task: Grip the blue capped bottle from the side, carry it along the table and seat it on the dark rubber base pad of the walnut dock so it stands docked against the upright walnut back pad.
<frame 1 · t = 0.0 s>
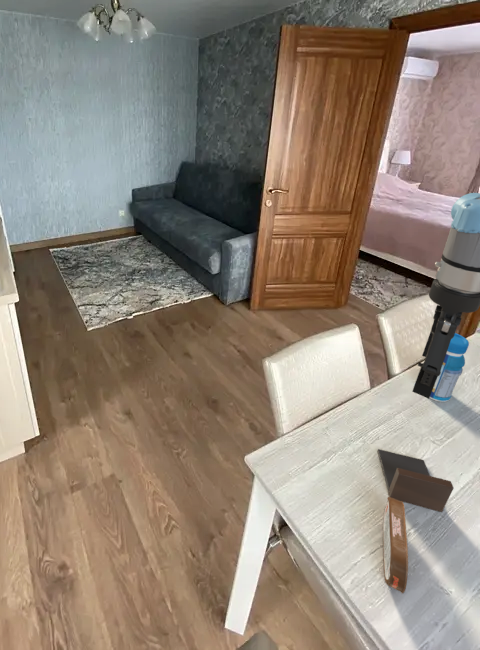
hand: (425, 374, 71), 29 cm above the table, tool pointing down, fingers open, 13 cm apart
blue capped bottle: (433, 392, 104), on the table
dock: (405, 476, 80), on the table
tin: (388, 553, 67), on the table
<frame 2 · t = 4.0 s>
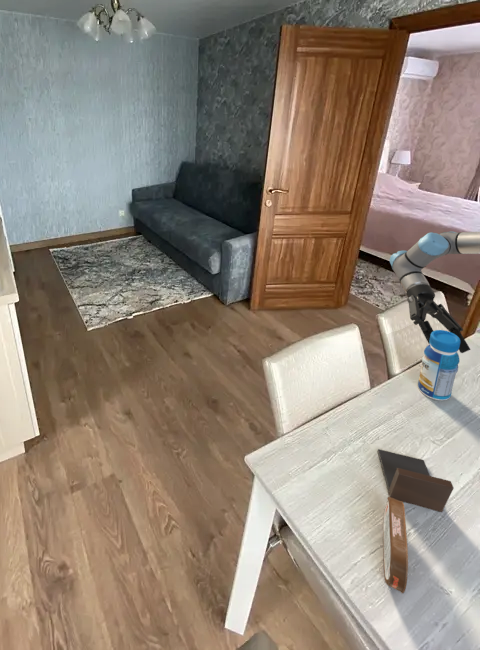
hand: (449, 346, 104), 13 cm above the table, tool tilted 65°, fingers open, 13 cm apart
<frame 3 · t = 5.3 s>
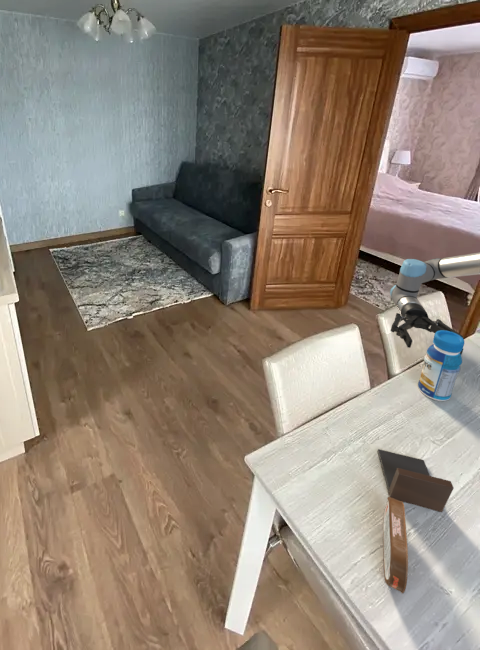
hand: (435, 348, 106), 11 cm above the table, tool horizontal, fingers open, 13 cm apart
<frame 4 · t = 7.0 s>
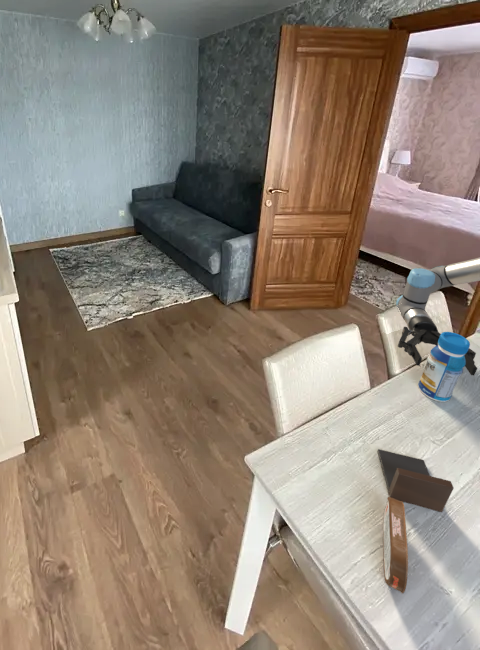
hand: (446, 366, 99), 11 cm above the table, tool horizontal, fingers open, 13 cm apart
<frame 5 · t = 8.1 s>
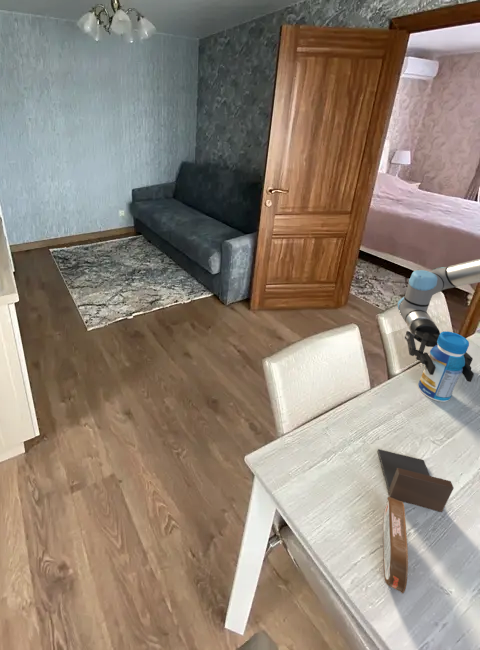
hand: (451, 374, 96), 11 cm above the table, tool horizontal, fingers closed on blue capped bottle, 8 cm apart
blue capped bottle: (433, 392, 104), on the table, touching gripper
everything else where it was.
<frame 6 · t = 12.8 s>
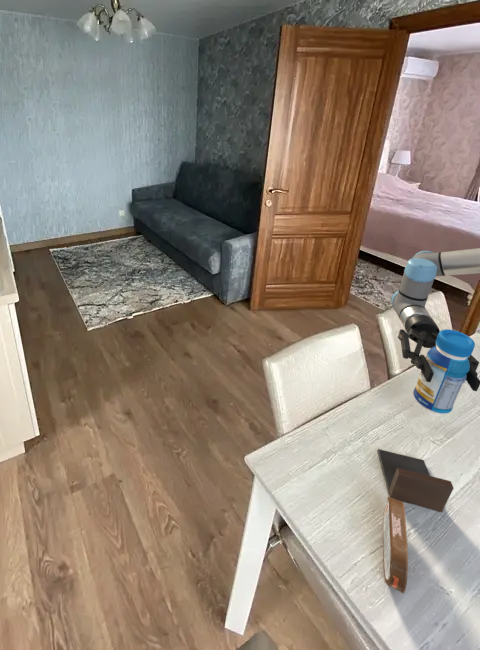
hand: (453, 381, 78), 22 cm above the table, tool horizontal, fingers closed on blue capped bottle, 8 cm apart
blue capped bottle: (431, 402, 87), point 11 cm above the table, touching gripper
everything else where it was.
when the fingers open (12 cm above the table, at t = 18.0 s): blue capped bottle stays where it is, resting on dock.
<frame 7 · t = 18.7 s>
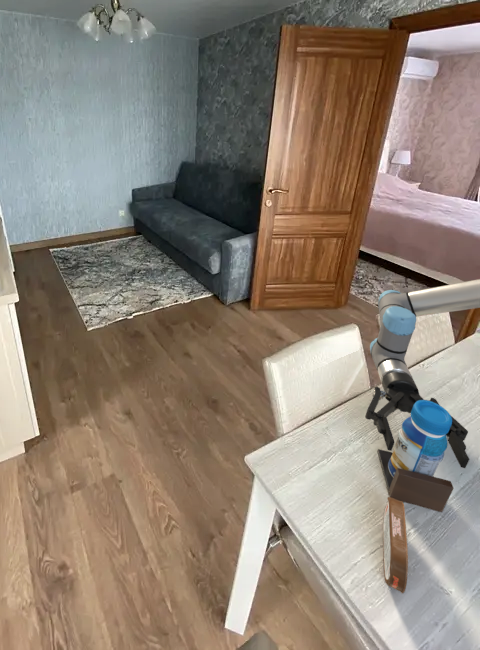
hand: (427, 454, 72), 12 cm above the table, tool horizontal, fingers open, 13 cm apart
blue capped bottle: (407, 476, 80), point 1 cm above the table, touching dock
everything else where it was.
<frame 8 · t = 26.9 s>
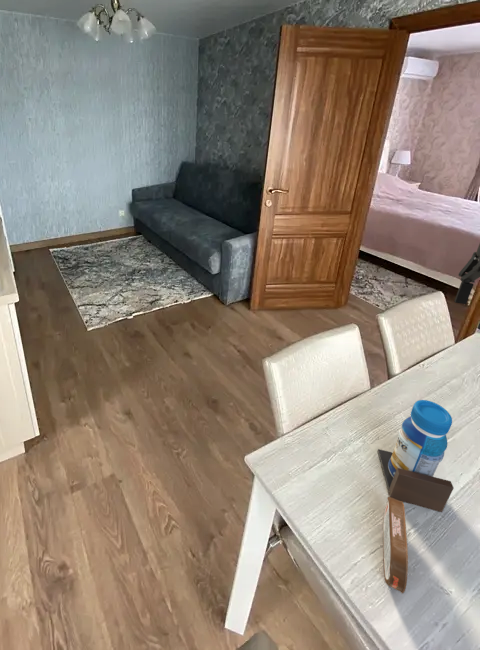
hand: (471, 315, 95), 27 cm above the table, tool pointing down, fingers open, 13 cm apart
nothing on the table moved.
at the end: blue capped bottle touching dock; blue capped bottle 0.2 cm off-centre on the dock, point 0.8 cm above the dock's base; blue capped bottle tilted 0° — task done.
